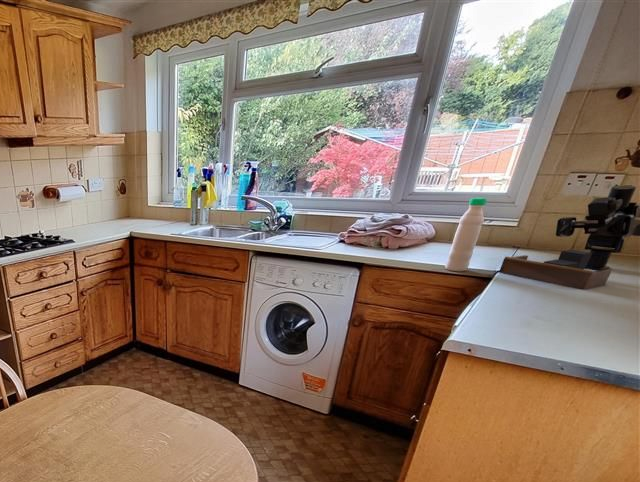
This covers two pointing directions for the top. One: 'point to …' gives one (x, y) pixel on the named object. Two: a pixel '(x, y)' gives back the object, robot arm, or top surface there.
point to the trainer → (572, 259)
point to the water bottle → (466, 236)
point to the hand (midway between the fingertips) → (577, 232)
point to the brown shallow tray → (554, 273)
